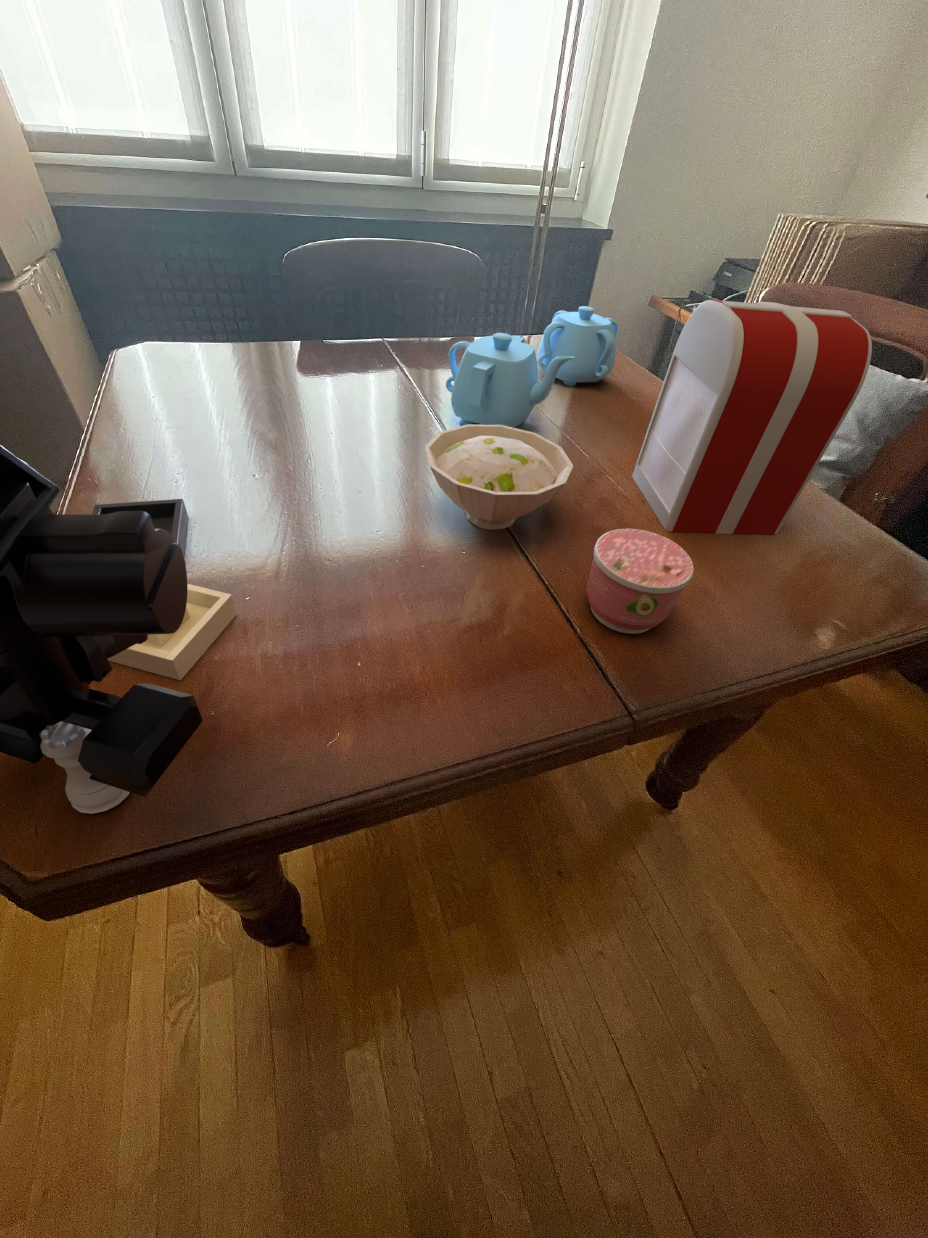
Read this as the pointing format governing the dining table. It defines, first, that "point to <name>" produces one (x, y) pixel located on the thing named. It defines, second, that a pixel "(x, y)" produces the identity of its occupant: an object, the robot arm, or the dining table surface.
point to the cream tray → (184, 636)
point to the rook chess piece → (78, 769)
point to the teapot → (498, 380)
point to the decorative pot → (579, 345)
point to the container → (636, 579)
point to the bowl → (496, 471)
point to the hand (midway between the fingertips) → (93, 773)
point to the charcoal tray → (156, 515)
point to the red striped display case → (748, 413)
